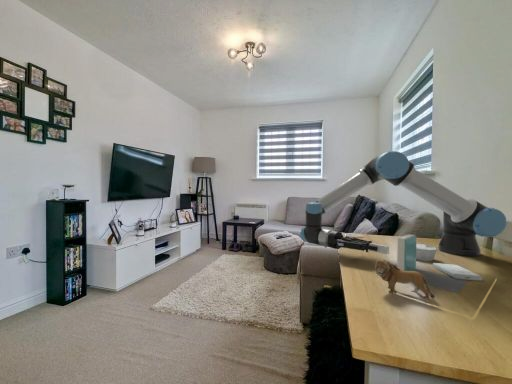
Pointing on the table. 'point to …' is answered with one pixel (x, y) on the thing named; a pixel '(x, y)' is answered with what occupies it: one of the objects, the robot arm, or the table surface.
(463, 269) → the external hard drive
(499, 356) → the table surface
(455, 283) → the mat
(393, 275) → the lion figurine
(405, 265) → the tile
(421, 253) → the ramekin
